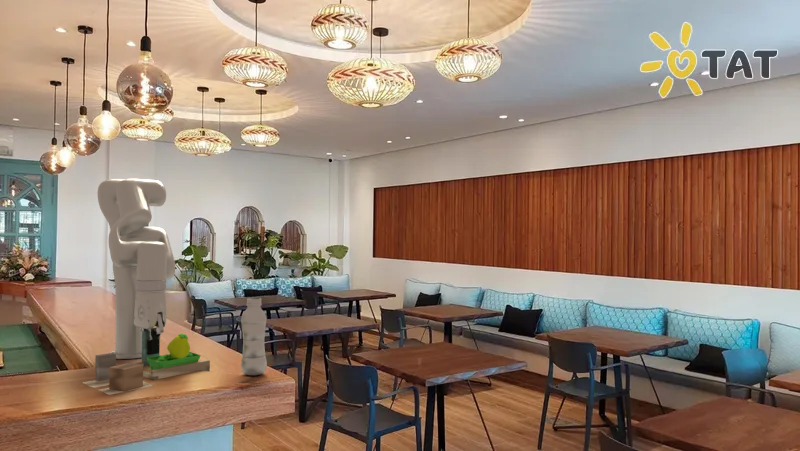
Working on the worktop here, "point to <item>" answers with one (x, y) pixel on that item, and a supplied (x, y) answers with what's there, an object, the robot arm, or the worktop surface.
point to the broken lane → (109, 391)
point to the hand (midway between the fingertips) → (150, 352)
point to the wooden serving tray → (168, 371)
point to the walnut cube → (125, 377)
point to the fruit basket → (174, 354)
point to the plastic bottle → (253, 338)
